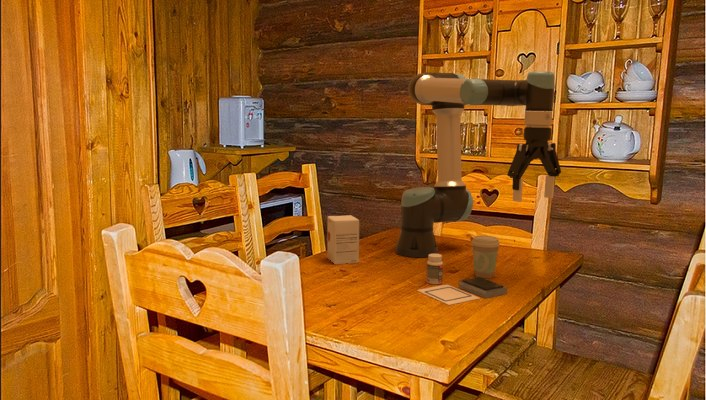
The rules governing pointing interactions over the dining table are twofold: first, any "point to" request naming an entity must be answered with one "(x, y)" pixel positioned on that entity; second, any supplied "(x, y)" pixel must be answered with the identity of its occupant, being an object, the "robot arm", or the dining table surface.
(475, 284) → the ink pad
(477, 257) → the coffee cup
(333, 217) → the supplement box
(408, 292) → the dining table surface
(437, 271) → the pill bottle
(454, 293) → the print card
